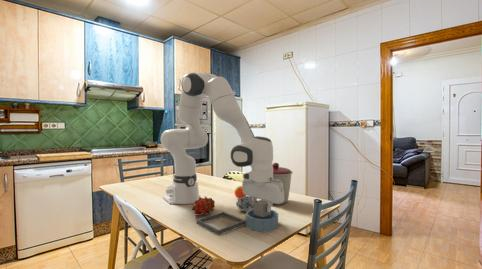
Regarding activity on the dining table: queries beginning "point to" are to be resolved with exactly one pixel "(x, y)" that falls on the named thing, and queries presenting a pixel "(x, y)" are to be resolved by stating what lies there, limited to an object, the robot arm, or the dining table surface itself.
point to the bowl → (262, 221)
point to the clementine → (239, 192)
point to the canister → (283, 179)
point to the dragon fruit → (203, 206)
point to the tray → (219, 231)
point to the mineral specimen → (245, 203)
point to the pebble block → (261, 208)
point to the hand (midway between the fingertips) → (262, 209)
